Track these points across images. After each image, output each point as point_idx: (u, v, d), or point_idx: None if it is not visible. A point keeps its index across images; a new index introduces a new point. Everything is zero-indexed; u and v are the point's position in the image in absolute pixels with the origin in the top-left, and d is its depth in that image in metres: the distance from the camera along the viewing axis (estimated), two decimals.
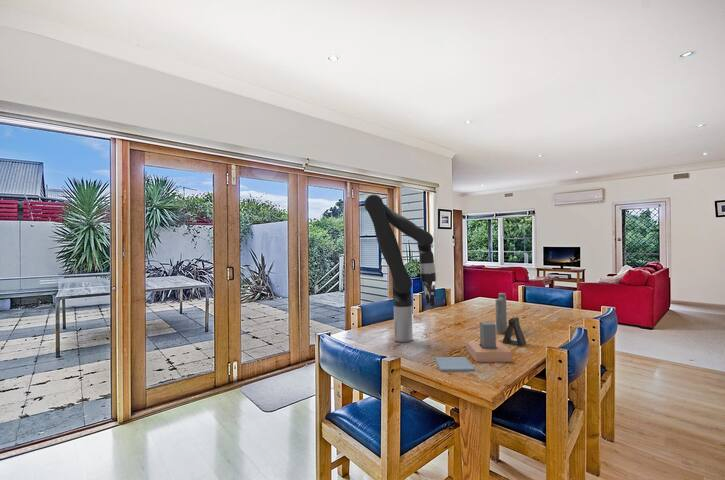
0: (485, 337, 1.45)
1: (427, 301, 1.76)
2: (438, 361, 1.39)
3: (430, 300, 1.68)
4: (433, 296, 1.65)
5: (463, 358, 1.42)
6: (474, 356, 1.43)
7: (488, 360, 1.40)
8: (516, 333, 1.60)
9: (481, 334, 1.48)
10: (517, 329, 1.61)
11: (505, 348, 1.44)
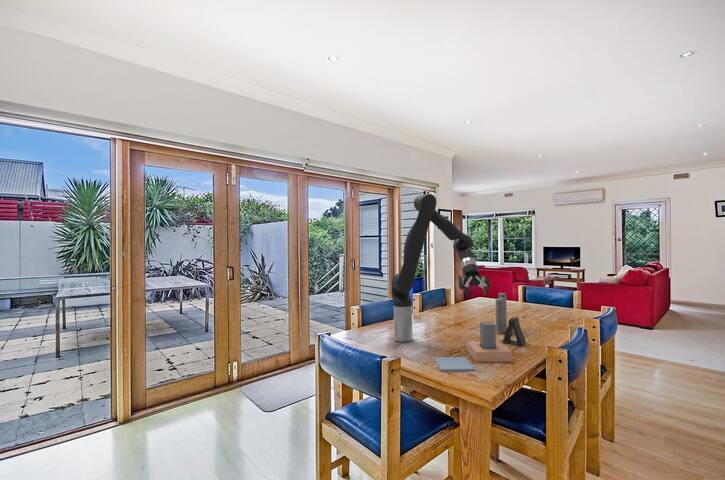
0: (485, 337, 1.45)
1: None
2: (438, 361, 1.39)
3: (486, 288, 1.62)
4: (489, 286, 1.64)
5: (463, 358, 1.42)
6: (474, 356, 1.43)
7: (488, 360, 1.40)
8: (516, 333, 1.60)
9: (481, 334, 1.48)
10: (517, 329, 1.61)
11: (505, 348, 1.44)
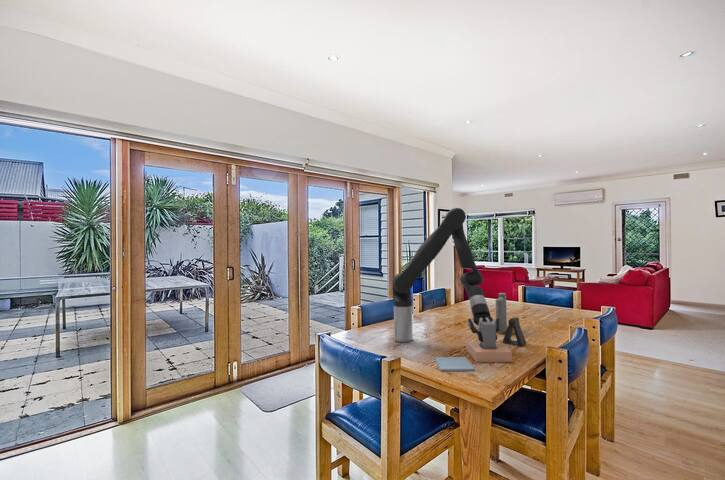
0: (485, 337, 1.45)
1: None
2: (438, 361, 1.39)
3: None
4: (498, 330, 1.50)
5: (463, 358, 1.42)
6: (474, 356, 1.43)
7: (488, 360, 1.40)
8: (516, 333, 1.60)
9: None
10: (517, 329, 1.61)
11: (505, 348, 1.44)
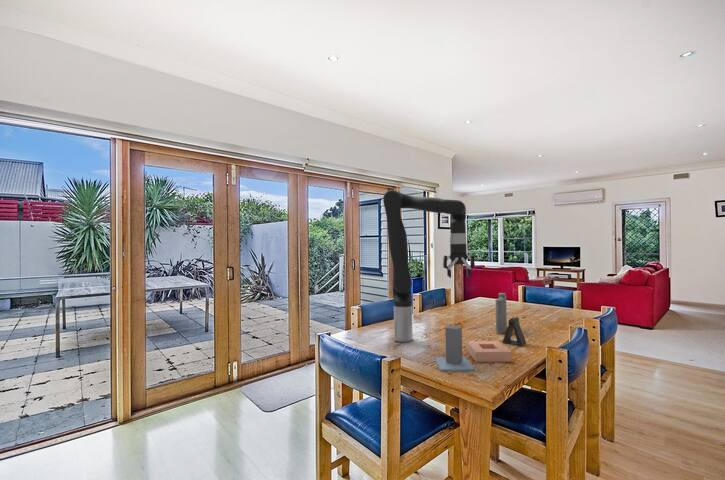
0: (447, 341, 1.38)
1: None
2: (438, 361, 1.39)
3: (469, 271, 1.61)
4: None
5: (463, 358, 1.42)
6: (474, 356, 1.43)
7: (488, 360, 1.40)
8: (516, 333, 1.60)
9: None
10: (517, 329, 1.61)
11: (505, 348, 1.44)
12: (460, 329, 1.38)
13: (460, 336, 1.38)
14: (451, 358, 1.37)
